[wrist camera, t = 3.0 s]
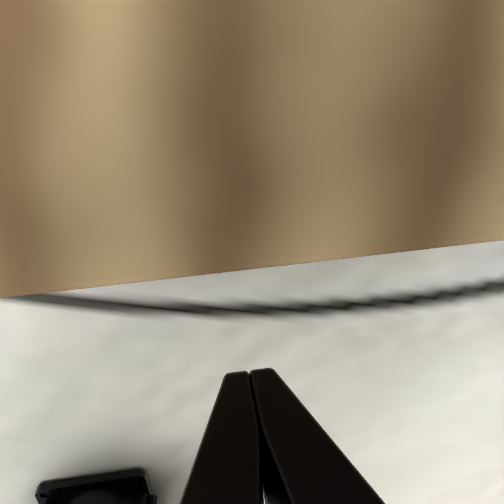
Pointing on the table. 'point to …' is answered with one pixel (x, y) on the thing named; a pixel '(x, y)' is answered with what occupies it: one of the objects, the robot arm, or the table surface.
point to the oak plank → (242, 135)
